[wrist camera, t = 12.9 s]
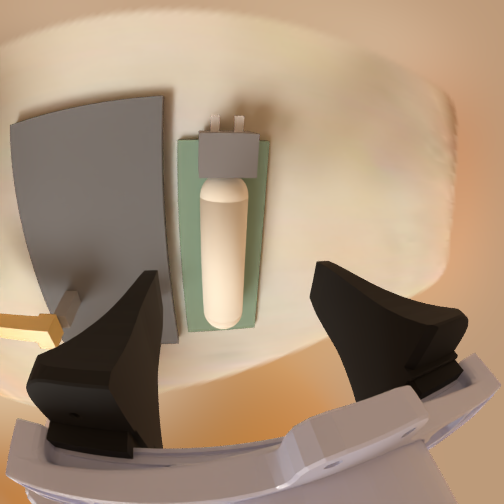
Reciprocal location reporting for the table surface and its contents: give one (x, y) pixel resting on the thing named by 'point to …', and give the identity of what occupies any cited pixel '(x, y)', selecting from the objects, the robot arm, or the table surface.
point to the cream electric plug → (224, 217)
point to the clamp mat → (94, 206)
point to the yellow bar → (32, 329)
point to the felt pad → (192, 236)
